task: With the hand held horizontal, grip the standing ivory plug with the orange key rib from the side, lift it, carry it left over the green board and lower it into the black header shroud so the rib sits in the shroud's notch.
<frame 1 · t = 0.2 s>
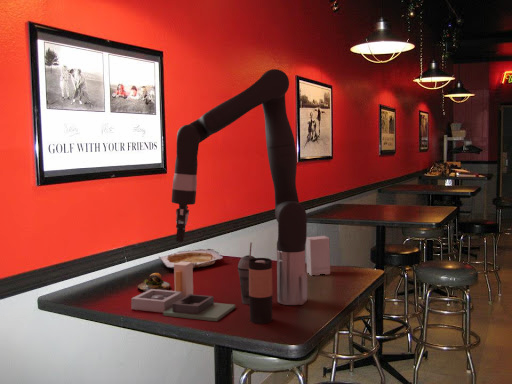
hand: (180, 239, 170), 22 cm above the table, tool pointing down, fingers open, 8 cm apart
fan: (157, 305, 174), on the table
plug: (184, 298, 182), on the table
oval serving dish: (190, 265, 234), on the table
header board: (200, 311, 167), on the table
travel mug: (261, 320, 158), on the table
burger: (154, 290, 195), on the table
skincare box: (318, 274, 214), on the table
beverage cup: (249, 302, 176), on the table
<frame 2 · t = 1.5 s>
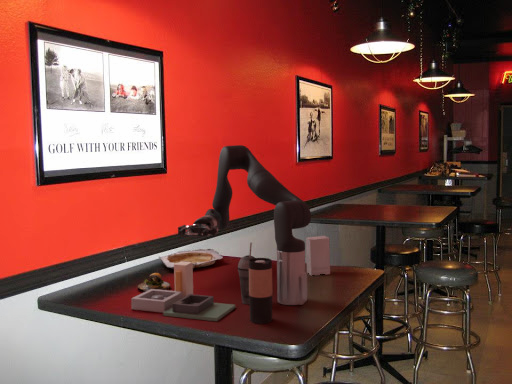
hand: (192, 233, 191), 20 cm above the table, tool horizontal, fingers open, 8 cm apart
nothing on the table moved.
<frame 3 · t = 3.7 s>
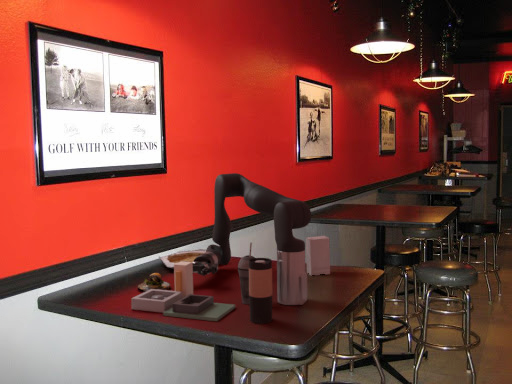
hand: (191, 272, 189), 7 cm above the table, tool horizontal, fingers open, 8 cm apart
nothing on the table moved.
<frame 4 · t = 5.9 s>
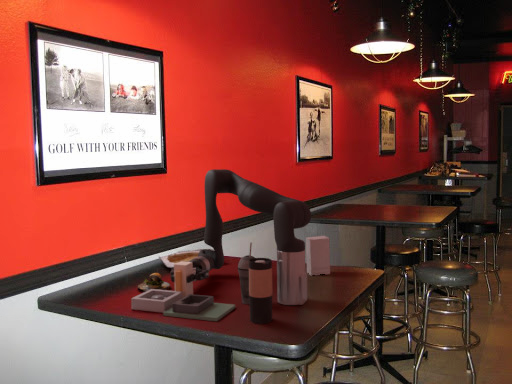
hand: (180, 279, 179), 7 cm above the table, tool horizontal, fingers closed on plug, 5 cm apart
plug: (184, 297, 182), on the table, touching gripper
everything else where it was.
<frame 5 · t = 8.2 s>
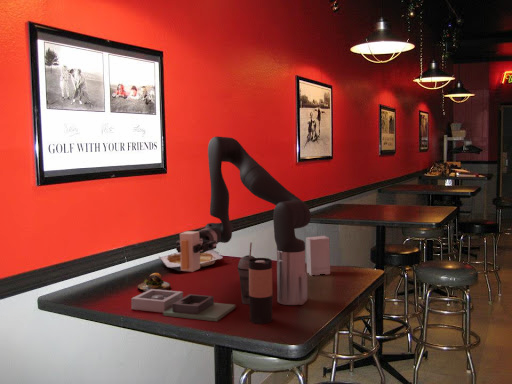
hand: (187, 249, 169), 19 cm above the table, tool horizontal, fingers closed on plug, 5 cm apart
plug: (190, 269, 173), point 12 cm above the table, touching gripper
everything else where it was.
when the fingers open (9 cm above the table, at t = 10.5 s): plug drops 1 cm, resting on header board.
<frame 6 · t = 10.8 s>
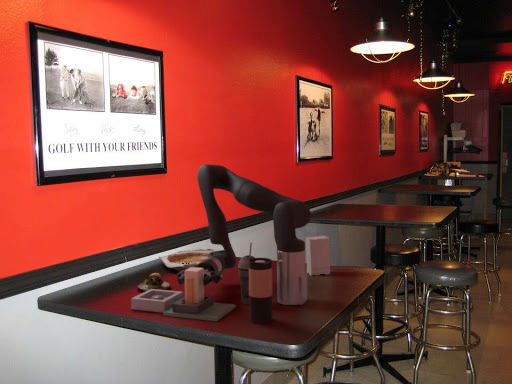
hand: (192, 282, 166), 10 cm above the table, tool horizontal, fingers open, 7 cm apart
plug: (194, 306, 169), point 1 cm above the table, touching header board
everything else where it was.
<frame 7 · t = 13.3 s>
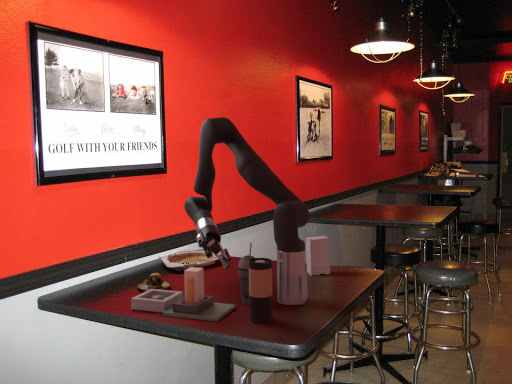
hand: (218, 262, 179), 13 cm above the table, tool tilted 60°, fingers open, 8 cm apart
nothing on the table moved.
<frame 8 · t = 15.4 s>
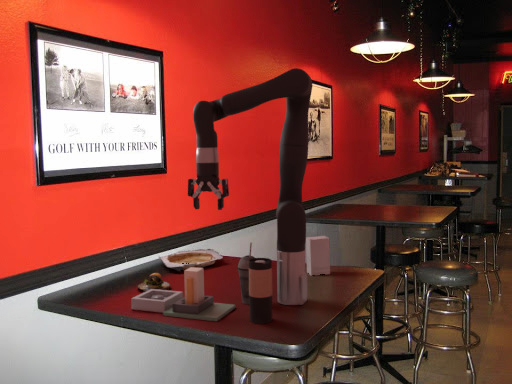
hand: (208, 209, 181), 30 cm above the table, tool pointing down, fingers open, 8 cm apart
nothing on the table moved.
at the end: plug 0.1 cm from the target spot on the header board, point 1.0 cm above the header board's base; plug tilted 0°; the gripper is holding nothing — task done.
